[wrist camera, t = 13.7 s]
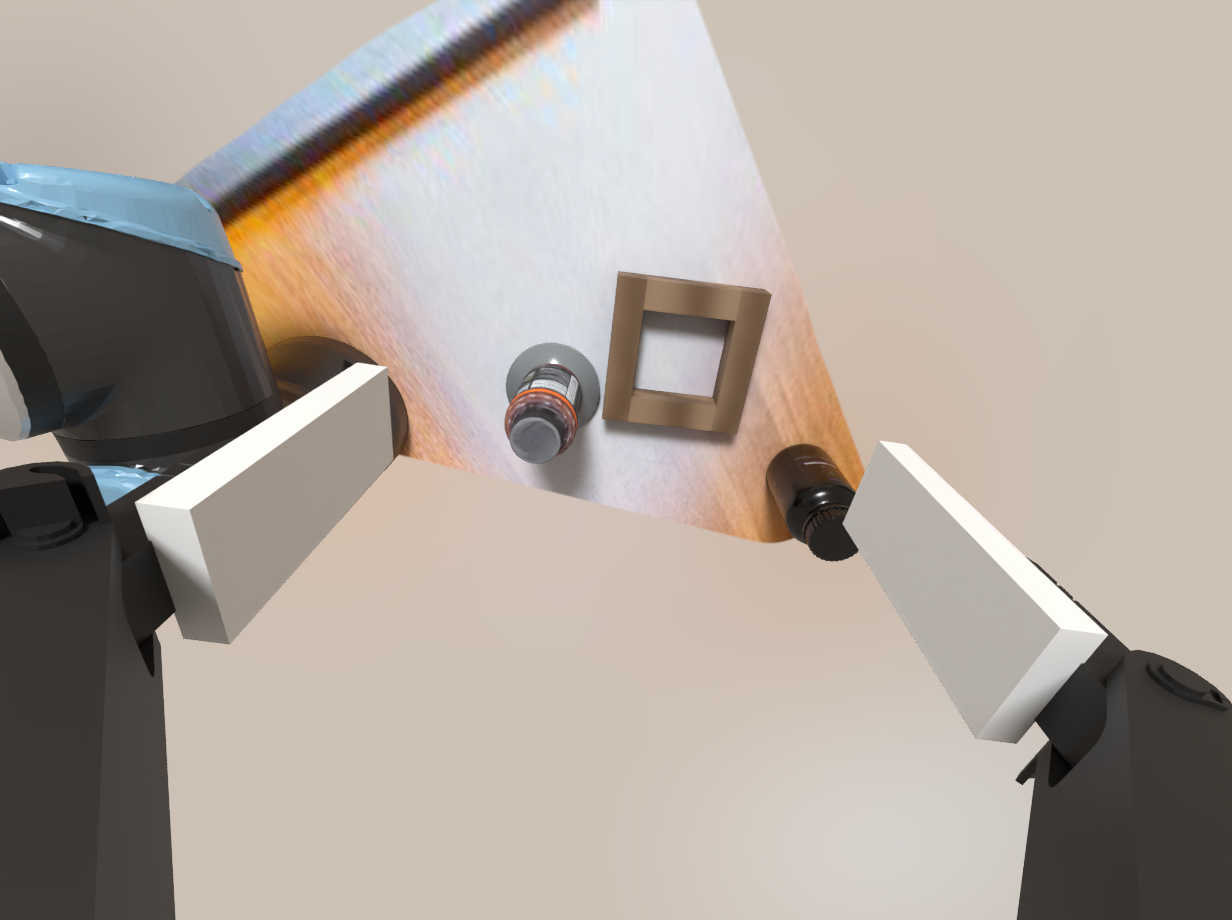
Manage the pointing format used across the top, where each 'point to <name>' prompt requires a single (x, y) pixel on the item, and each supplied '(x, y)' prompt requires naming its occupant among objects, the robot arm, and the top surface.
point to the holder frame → (696, 300)
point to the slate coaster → (564, 358)
